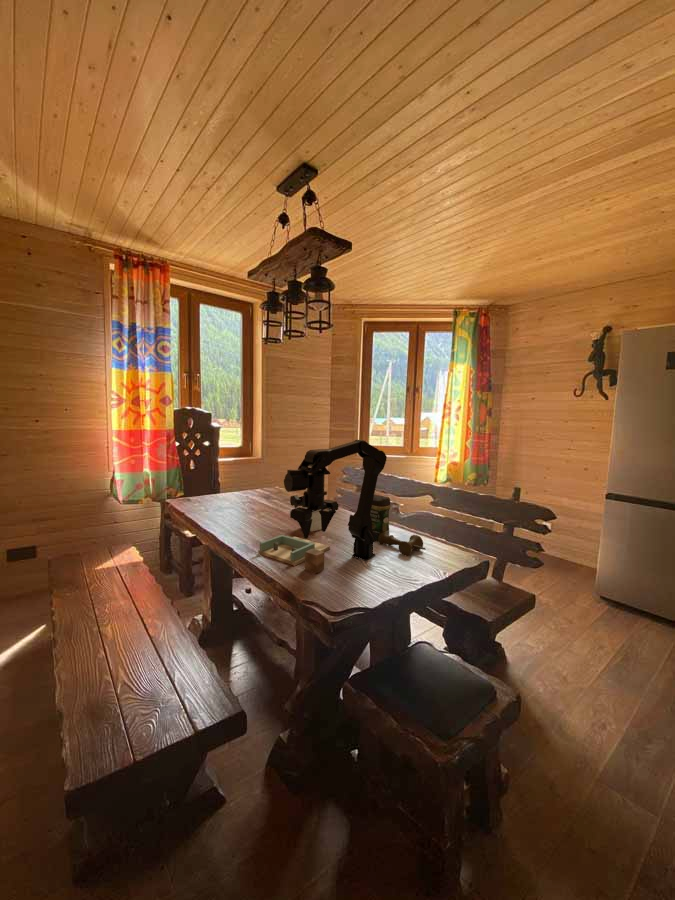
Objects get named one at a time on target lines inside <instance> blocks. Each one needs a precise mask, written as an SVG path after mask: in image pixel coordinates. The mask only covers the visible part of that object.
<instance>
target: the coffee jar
mask: <svg viewBox="0 0 675 900" xmlns="http://www.w3.org/2000/svg"><path fill="white" fill-rule="evenodd" d="M390 508H391V499H390V497H388V496H385V495H379V494H376V493H374V498H373V503H372V508H371V512H370V515H371V519H372V531H373V532H374V533H375V534H376V535H377V536H378V538H379V535H380V534H381V533H382V532H384V533H386V535H389V536H390V517H389V516H390ZM378 538H377V541H376V542H378Z"/></svg>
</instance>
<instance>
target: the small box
mask: <svg viewBox="0 0 675 900" xmlns="http://www.w3.org/2000/svg"><path fill="white" fill-rule="evenodd" d="M301 508H305V509H307V507H302V506H301ZM311 519H312V524H311V528H310V533H312V532H317V531H322V527H321V515H320V513H319V511H318V512H315V513H312V517H311Z"/></svg>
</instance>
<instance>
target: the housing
mask: <svg viewBox="0 0 675 900" xmlns="http://www.w3.org/2000/svg"><path fill="white" fill-rule="evenodd" d="M292 537H293V536H288V535H284V534H280V535H277V536H275V537H272V538H269V539H266V540H263V541H260V542H259V550H260V551H264V550H267V549H270V548H272V547H274V543H275V542H277V543H278V545H280V544H285V545H288V546H292V547H295V548H299V549H297V550H295V551H292V552H291V554H290V561H295V560H297V559H300V558H302V557H304V556H305V552H306V551H308V550H311V549H315V544H314V543H310V542H307V541H303V540H299V539H296V538H292Z"/></svg>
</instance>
